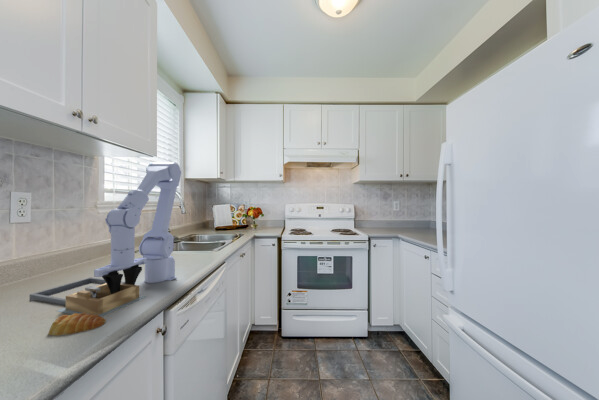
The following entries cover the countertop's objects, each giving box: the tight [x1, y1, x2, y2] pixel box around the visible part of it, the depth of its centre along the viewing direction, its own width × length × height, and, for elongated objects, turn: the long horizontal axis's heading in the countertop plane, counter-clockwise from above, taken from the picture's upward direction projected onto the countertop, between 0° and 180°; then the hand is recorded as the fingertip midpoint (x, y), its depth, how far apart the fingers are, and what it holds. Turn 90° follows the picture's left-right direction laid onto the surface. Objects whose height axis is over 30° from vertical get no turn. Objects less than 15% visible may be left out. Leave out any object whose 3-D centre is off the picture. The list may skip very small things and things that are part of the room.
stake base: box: [56, 294, 147, 317], centre depth 67 cm, size 14×14×1 cm
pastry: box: [47, 313, 107, 337], centre depth 55 cm, size 9×7×4 cm
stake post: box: [84, 286, 101, 298], centre depth 64 cm, size 2×4×5 cm, turn 74°
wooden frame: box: [65, 283, 140, 315], centre depth 67 cm, size 11×11×5 cm
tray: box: [28, 277, 125, 306], centre depth 75 cm, size 16×16×2 cm
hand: (122, 294), depth 72 cm, fingers open, 4 cm apart
